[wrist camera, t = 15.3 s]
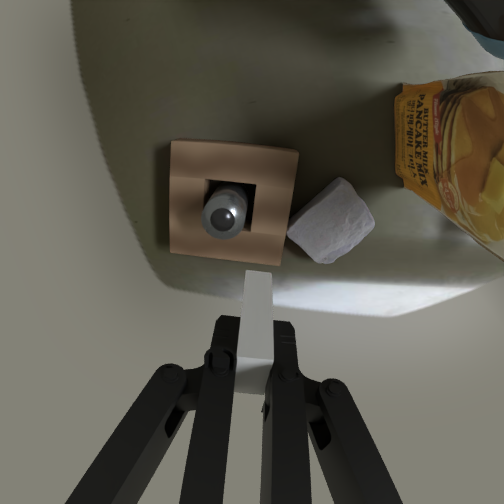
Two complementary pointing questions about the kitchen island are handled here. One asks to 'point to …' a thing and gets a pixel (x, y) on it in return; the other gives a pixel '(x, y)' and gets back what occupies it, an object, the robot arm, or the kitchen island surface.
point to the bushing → (226, 210)
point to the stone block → (331, 222)
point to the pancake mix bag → (456, 151)
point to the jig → (236, 170)
